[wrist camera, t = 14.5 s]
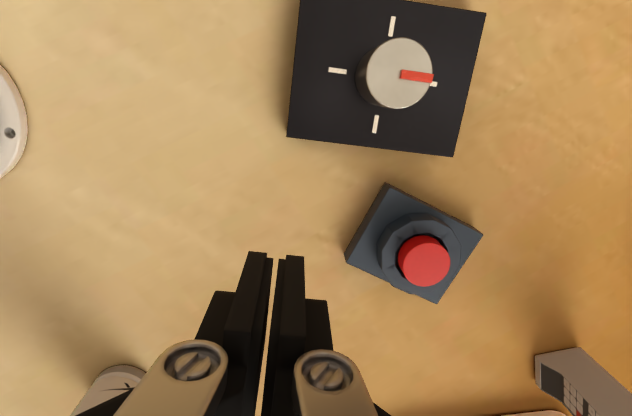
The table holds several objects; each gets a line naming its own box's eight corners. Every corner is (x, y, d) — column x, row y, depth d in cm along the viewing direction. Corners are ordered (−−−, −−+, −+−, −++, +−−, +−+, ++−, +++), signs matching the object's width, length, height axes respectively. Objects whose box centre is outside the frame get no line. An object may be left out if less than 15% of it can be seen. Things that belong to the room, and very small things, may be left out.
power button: (388, 266, 33) (393, 275, 31) (412, 227, 32) (419, 234, 30) (427, 284, 33) (434, 294, 32) (451, 246, 32) (459, 255, 31)
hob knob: (350, 102, 30) (361, 104, 25) (360, 42, 28) (373, 31, 23) (404, 109, 30) (426, 113, 25) (416, 51, 29) (441, 42, 24)
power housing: (343, 254, 36) (348, 272, 32) (384, 181, 34) (395, 192, 30) (429, 293, 38) (444, 316, 34) (474, 227, 36) (494, 243, 32)
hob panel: (287, 133, 33) (286, 137, 30) (301, -7, 30) (301, -17, 27) (442, 152, 34) (454, 157, 31) (472, 19, 31) (487, 12, 28)
